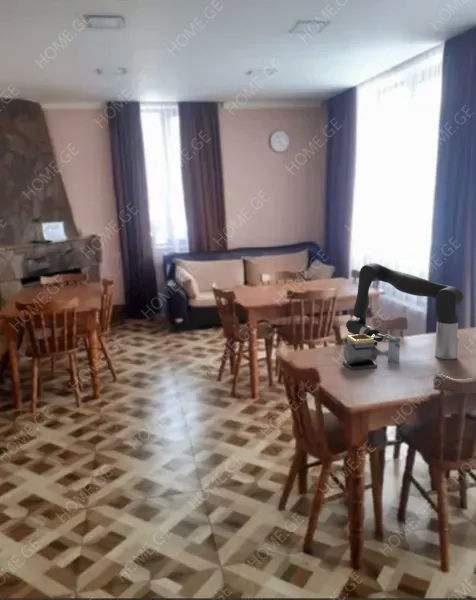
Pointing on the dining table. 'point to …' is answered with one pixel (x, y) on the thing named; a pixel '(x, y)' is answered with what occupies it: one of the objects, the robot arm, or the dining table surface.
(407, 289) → the robot arm
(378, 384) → the dining table surface
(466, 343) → the dining table surface
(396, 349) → the pump
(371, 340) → the motor
